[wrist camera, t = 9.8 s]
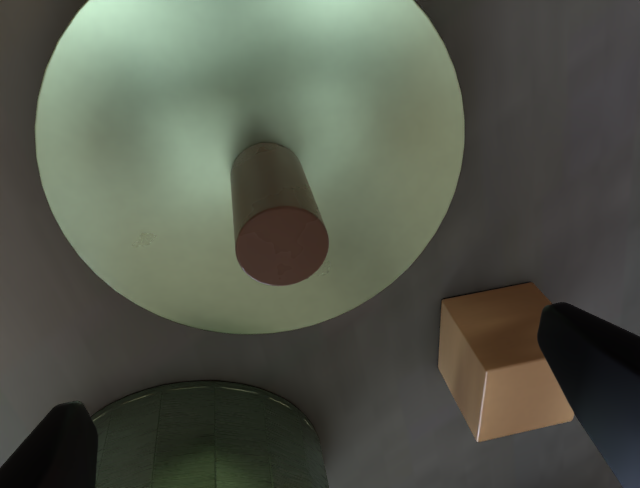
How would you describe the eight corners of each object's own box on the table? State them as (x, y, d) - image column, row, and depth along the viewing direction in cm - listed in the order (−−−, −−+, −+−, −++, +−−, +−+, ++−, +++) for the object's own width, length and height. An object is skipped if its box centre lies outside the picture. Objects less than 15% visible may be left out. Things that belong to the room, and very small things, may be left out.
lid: (465, -96, 14) (590, -113, 9) (443, 284, 22) (506, 379, 17) (-42, -42, 13) (-192, -29, 8) (123, 345, 20) (96, 468, 15)
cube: (532, 281, 22) (594, 348, 19) (519, 349, 25) (573, 421, 21) (440, 299, 22) (486, 371, 18) (437, 367, 24) (477, 443, 21)
